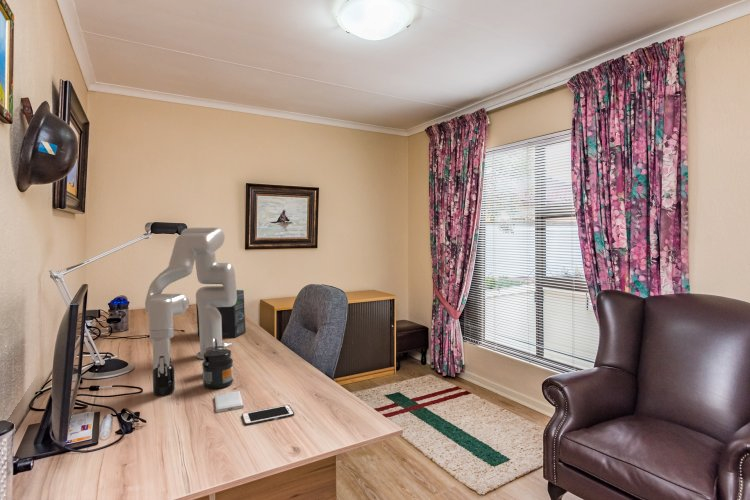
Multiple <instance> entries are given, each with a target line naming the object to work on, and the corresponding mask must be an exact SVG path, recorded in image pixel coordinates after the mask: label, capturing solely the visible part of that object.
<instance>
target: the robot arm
mask: <svg viewBox="0 0 750 500" xmlns="http://www.w3.org/2000/svg"><path fill="white" fill-rule="evenodd" d="M224 242H225V233H224V231H223V230H222V229H221V227H187V228H184V229H183V230H182V231H181V232H180V235H178V236H177V237H176V239H175V242H174V245H173V248H172V252H171V256H170V259H169V263H168V267H166V268H165V269H164V270H163V271H162V272H160V273H159V274H158V275H157V276H156V277H155V278H154V279H153V280H152V281H151V283H150V285H149V287H148V291H147V294H146V298H145V301H144V305H145V310H146V312H147V313H148V331H149V332H148V333H149V335H148V336H149V340H151V341H152V364H153V365H152V366H153V367H152V369H153V368H154V369H156V368H157V367H158V388H164V387H168V386H169V382H168V375H167V367H169V363H170V358H171V351H172V350H171V339H172V338H174V337H175V331H174V330H175V329H174V316H176V315H181V314H184V313H185V312H187V310H188V308H189V306H190V301H189V300H190V299H189V297H188V296H187V295H185V294H183V293H162V292H163V291H164V289H166V287H168V286H169V285H171V284H173V283H175V282H176V281H179V280H181V279H184V278H186V277H188V276H190V275H191V274H192V273H193V270H194V265H195V270H196V279H197V281H198V283H199V284H201V285H206V286H201V287H200V288H198V289H197V290H196V293H195V302H197V306H198V312H199V336H200V337H199V351H198V352H197V353H196V358H197V359H199V360H204V359H203V354H204V353H205V349H206V348H208V347H212V339H214V346H215V339H217V346H223V347H224V349H228V348H232V347H233V344H232V342H229V343H226V342H225V343H224V342H223V337H222V321H221V320H222V319H221V314H220V312H219V311H218V309H217V308H216V307H231V306H234V305H235V304H236V301H237V290H238V289H237V283H236V273H235V268H234V266H233V265H232V264H231V263H228V262H217V259H216V253H215V252H217V250H219V249H220V248H221V247H222V246H223V244H224ZM164 365H166V366H164ZM159 366H160V367H159ZM164 369H165V370H164Z"/></svg>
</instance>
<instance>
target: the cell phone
mask: <svg viewBox="0 0 750 500" xmlns="http://www.w3.org/2000/svg"><path fill="white" fill-rule="evenodd" d="M294 416H295V412H294V409H293V408H292V406H291V405H290V404H285V405H284V404H283V405H279V406H273V407H268V408H263V409H262V408H261V409H258V410H251V411H248V412H247V411H246V412H243V413H241V419H242V421H243V425H244V426H253V425H256V424H257V425H258V424H261V423H265V422H267V423H268V422H270V421H276V420H280V419H285V418H286V419H287V418H289V417H294Z"/></svg>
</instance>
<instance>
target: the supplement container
mask: <svg viewBox="0 0 750 500" xmlns="http://www.w3.org/2000/svg"><path fill="white" fill-rule="evenodd" d="M202 360H203V361H202V364H201V366H202V385H203V387H204V388H206V389H209V390H218V389H219V390H220V389H223V388H226V387H229V386H230V385H232V383H234V367H233V363H234V362H233V361H234V359H233V358H232V351H231V350H230V349H228V348H226V349H215V350H210V351H207V352H205V353H204V354H203V359H202Z"/></svg>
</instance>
